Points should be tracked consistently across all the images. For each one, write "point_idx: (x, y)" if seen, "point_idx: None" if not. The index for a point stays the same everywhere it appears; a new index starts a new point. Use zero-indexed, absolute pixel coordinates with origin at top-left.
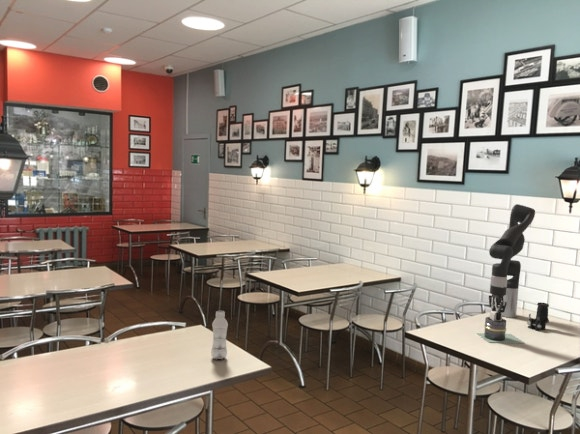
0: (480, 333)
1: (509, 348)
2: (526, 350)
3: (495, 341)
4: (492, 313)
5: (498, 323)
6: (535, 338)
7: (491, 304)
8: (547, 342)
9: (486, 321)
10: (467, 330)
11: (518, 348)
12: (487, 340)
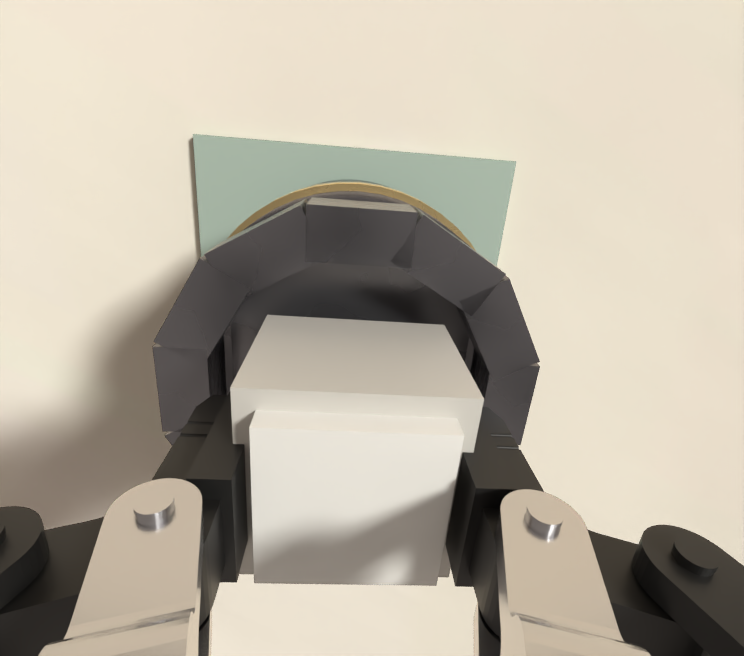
0: (499, 203)
1: (39, 277)
2: (19, 410)
3: (221, 230)
4: (332, 385)
5: (162, 343)
6: (347, 615)
7: (598, 648)
8: (259, 643)
9: (361, 202)
10: (654, 105)
11: (62, 368)
12: (249, 144)
